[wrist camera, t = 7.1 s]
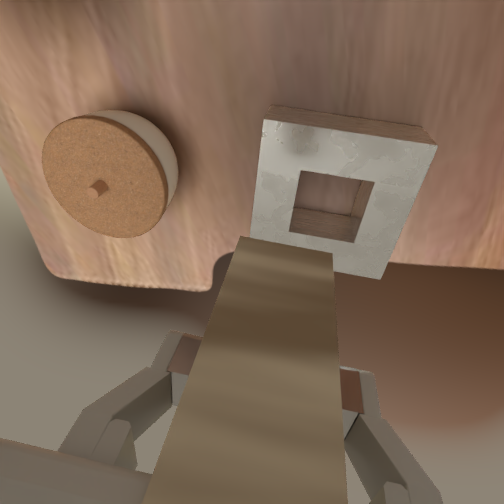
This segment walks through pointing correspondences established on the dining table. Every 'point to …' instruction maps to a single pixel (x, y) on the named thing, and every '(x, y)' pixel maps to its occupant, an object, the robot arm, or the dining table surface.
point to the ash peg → (261, 390)
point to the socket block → (345, 165)
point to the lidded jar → (111, 171)
